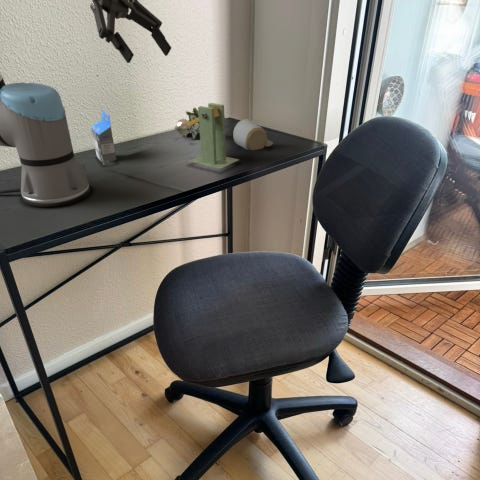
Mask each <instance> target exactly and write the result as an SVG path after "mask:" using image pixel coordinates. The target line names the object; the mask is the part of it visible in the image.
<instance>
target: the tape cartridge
mask: <svg viewBox="0 0 480 480" xmlns="http://www.w3.org/2000/svg"><path fill="white" fill-rule="evenodd" d="M111 125H112V124H111V117H110V116H109V115H108V114H107V113H106V112H105V111H104V110H103V109H101V119H100V120H99V121H98V122H96V123H94V124H92V126H91V127H90V130H91V135H92V140H93V145H94V148H95V154H96V158H97V159H98V160H99V162H100V163H101V164H102V165H103V166H105V165H106V164H110V163H112V162H115V161H117V154H116V149H115V143H114V137H113V132H112V126H111Z"/></svg>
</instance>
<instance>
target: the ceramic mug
mask: <svg viewBox="0 0 480 480" xmlns="http://www.w3.org/2000/svg"><path fill="white" fill-rule="evenodd" d="M232 136H233V141H234V143H235V144H236V145H237V146H240V147H241V148H243V149H244V150H247V151H257V150H262V149H265V147H267V148H268V147H271V146H273V145H274V142H273V141H271V140H270V139H268V135H267V132H266V130H265V129H264V128H263V127H262V126H260V125H259V124H258V123H256V122H254V121H253V120H251V119H250V118H249V119H248V118H244V119H241V120H239V121H238V122H237V123H236V125H235V126H234V128H233V133H232Z"/></svg>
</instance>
